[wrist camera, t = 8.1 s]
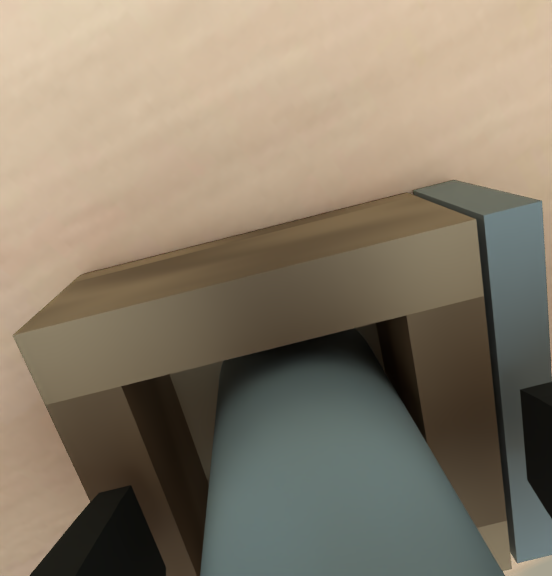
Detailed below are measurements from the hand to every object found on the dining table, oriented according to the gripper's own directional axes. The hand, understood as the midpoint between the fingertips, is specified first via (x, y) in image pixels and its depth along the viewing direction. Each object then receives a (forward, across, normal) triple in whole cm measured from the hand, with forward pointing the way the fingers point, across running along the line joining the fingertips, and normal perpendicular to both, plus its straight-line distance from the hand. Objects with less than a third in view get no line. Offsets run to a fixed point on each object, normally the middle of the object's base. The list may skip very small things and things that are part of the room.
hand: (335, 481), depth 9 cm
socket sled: (+4, +1, 0) cm, 4 cm away
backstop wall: (+4, -4, 0) cm, 6 cm away
